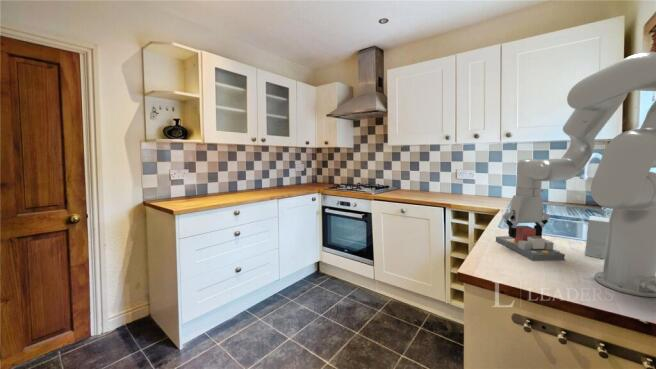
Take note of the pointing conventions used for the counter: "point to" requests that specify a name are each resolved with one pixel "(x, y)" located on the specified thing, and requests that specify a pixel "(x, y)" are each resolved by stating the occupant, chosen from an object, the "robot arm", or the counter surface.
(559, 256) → the breaker panel
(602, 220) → the small box
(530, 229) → the red block
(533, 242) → the breaker switch
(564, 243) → the counter surface
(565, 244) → the counter surface
